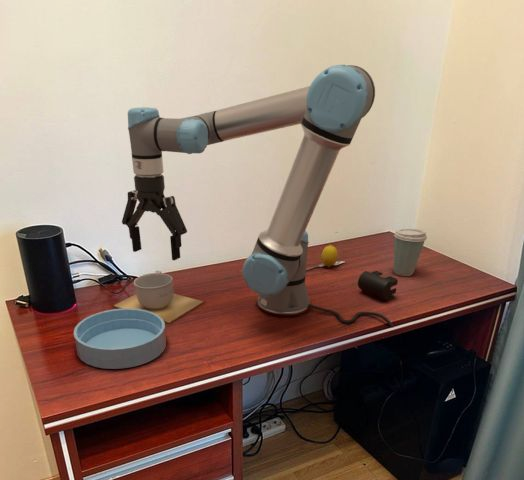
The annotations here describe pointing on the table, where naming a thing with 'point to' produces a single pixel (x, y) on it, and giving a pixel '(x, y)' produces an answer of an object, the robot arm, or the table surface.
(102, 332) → the bowl
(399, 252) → the disposable coffee cup
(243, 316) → the table surface
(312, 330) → the table surface
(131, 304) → the placemat
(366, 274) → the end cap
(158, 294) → the teacup
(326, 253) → the lemon
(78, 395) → the table surface
